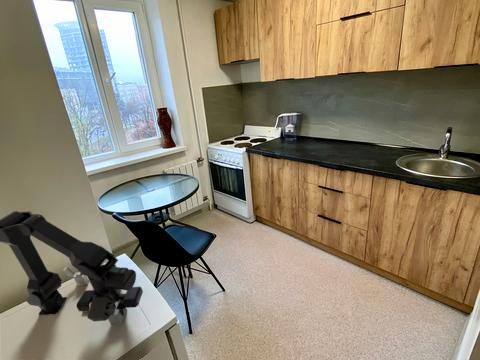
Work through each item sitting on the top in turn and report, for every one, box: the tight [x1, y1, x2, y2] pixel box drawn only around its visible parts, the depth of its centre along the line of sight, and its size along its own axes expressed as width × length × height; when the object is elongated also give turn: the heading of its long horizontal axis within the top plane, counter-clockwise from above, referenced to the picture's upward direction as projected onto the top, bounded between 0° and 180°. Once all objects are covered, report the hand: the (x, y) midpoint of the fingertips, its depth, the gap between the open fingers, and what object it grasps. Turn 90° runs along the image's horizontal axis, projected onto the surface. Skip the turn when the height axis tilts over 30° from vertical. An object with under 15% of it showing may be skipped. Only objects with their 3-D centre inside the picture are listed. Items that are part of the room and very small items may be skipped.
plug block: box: [107, 302, 128, 326], centre depth 83 cm, size 4×5×5 cm
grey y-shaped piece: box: [62, 266, 90, 286], centre depth 97 cm, size 7×2×8 cm, turn 84°
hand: (118, 314), depth 84 cm, fingers closed on plug block, 3 cm apart
